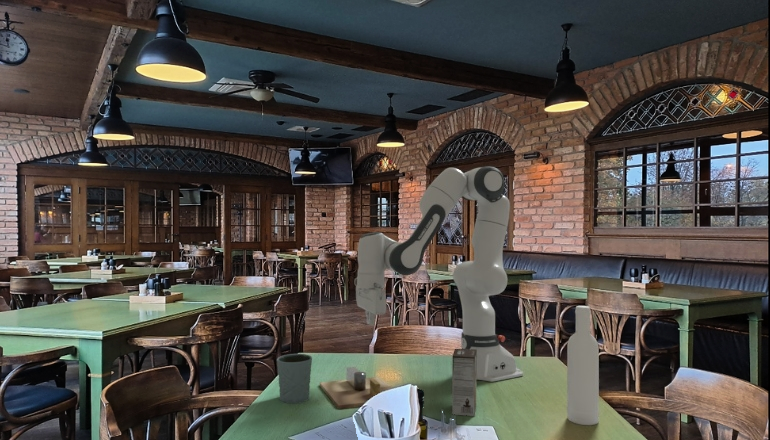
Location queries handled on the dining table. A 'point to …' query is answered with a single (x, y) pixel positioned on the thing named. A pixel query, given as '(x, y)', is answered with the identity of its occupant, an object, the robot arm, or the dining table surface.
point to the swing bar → (356, 378)
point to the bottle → (583, 372)
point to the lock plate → (353, 392)
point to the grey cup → (294, 377)
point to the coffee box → (464, 382)
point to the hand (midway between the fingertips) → (370, 324)
